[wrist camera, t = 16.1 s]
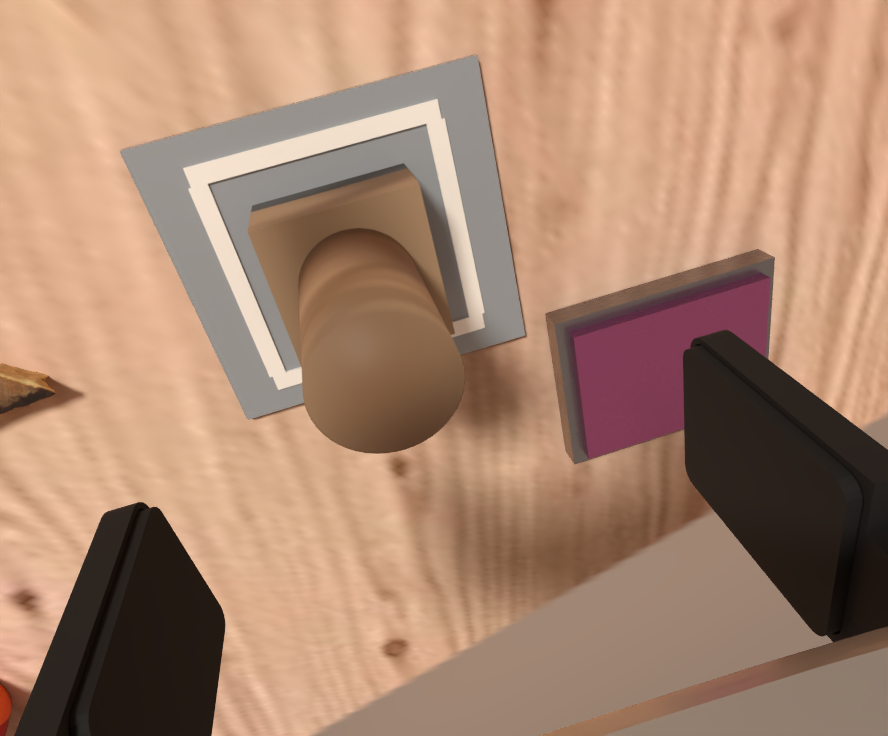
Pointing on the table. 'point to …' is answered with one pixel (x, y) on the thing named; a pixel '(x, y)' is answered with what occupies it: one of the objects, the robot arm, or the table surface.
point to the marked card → (317, 164)
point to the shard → (21, 388)
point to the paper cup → (4, 710)
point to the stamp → (363, 308)
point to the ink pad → (649, 349)
